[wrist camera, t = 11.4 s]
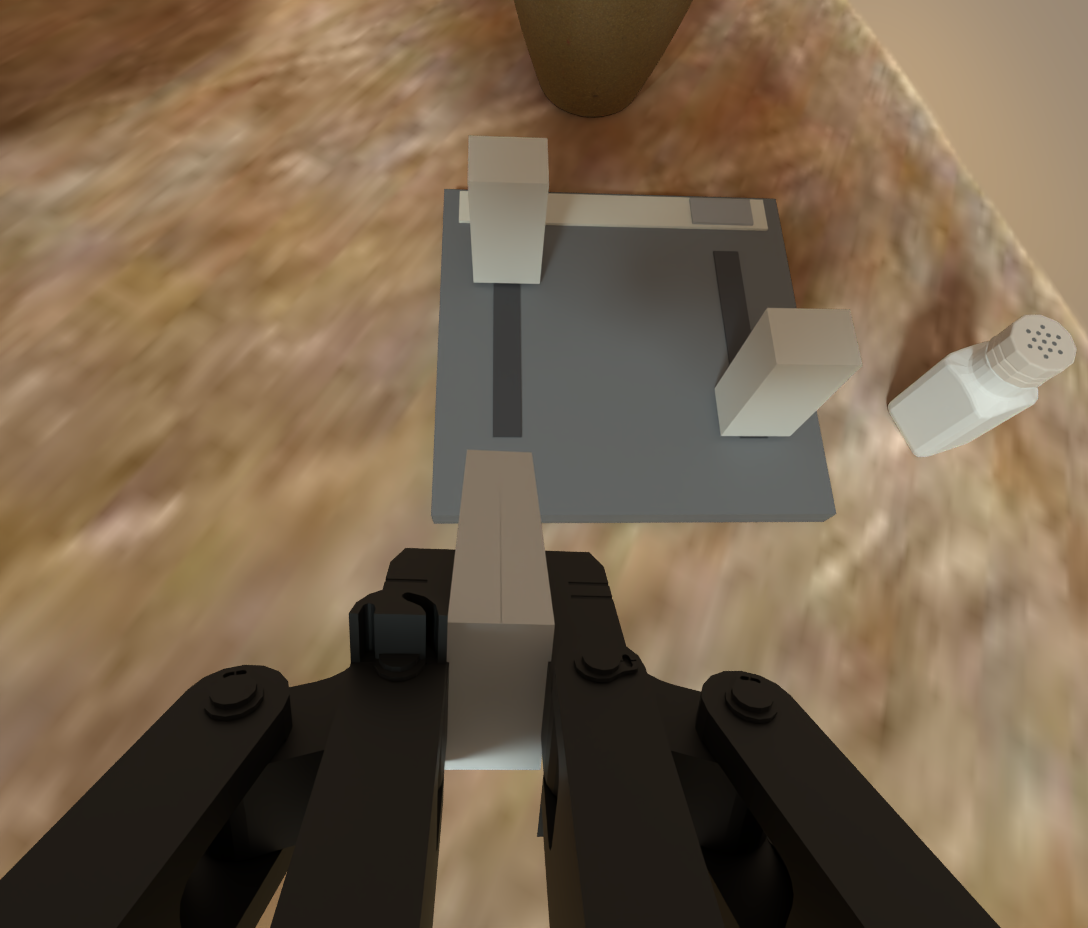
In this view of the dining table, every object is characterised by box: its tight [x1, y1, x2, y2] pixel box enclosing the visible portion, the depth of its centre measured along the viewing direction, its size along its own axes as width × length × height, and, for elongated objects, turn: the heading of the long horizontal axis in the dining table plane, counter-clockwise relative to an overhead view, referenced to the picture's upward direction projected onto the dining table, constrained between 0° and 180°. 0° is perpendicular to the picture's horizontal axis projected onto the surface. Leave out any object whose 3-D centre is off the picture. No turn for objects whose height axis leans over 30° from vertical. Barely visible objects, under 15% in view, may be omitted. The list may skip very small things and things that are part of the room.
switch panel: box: [431, 189, 836, 523], centre depth 40 cm, size 22×22×2 cm
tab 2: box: [715, 308, 863, 436], centre depth 34 cm, size 3×4×8 cm
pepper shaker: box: [888, 315, 1077, 457], centre depth 36 cm, size 4×4×10 cm
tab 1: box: [468, 135, 549, 284], centre depth 37 cm, size 3×4×8 cm
